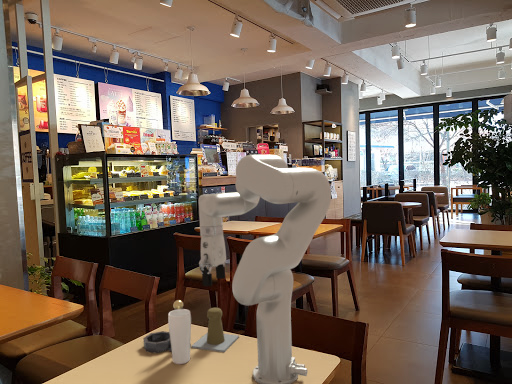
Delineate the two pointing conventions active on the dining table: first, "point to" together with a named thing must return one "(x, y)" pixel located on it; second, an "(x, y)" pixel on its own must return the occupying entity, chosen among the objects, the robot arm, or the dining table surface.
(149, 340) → the ring stand
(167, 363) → the dining table surface
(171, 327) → the drinking glass
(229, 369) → the dining table surface
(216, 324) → the olive rounded tall piece
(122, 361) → the dining table surface
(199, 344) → the mat
